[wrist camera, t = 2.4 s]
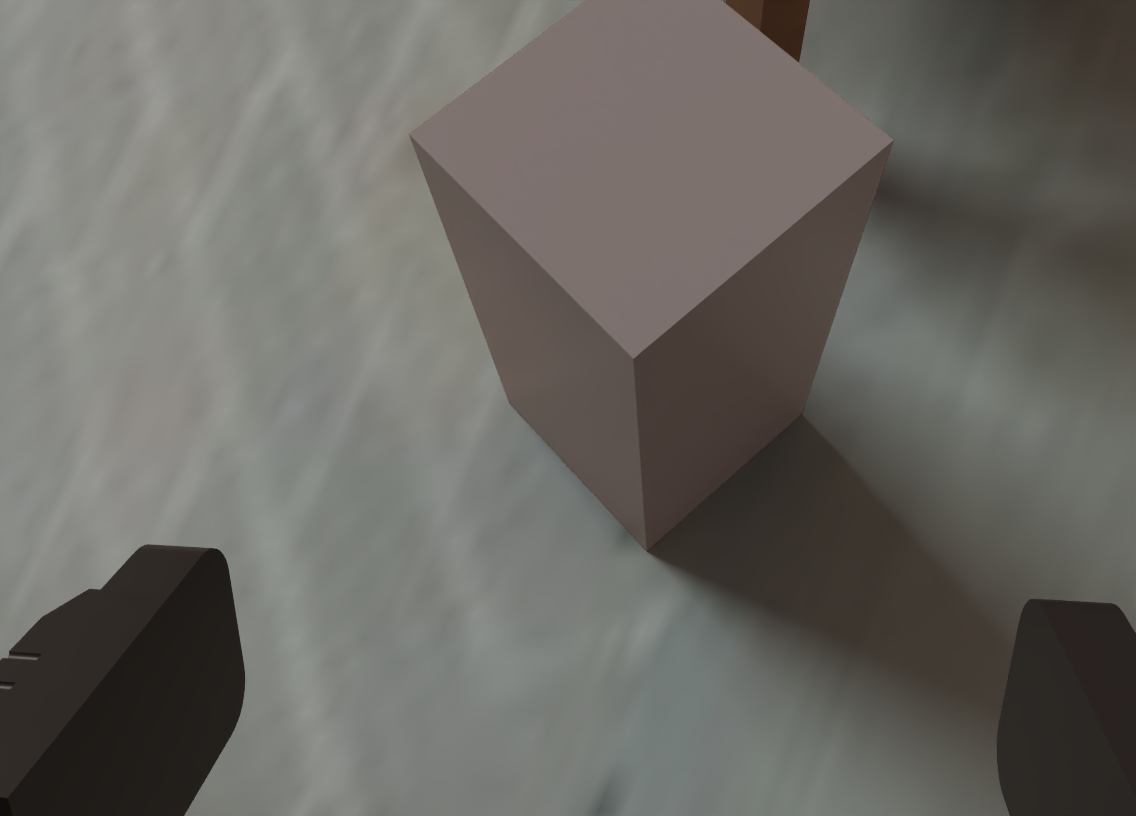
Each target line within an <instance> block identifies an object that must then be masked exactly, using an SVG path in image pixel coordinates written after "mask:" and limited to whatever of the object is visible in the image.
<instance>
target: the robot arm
mask: <svg viewBox="0 0 1136 816" xmlns="http://www.w3.org/2000/svg"><path fill="white" fill-rule="evenodd" d="M244 691H245V670H244V662H243V656H242V650H241V643H240V637H239V631H238V624H237V618H236V612H235V606H234V599H233V593H232V587H231V580H230V574H229V569H228V564H227V561H226V559H225V557H224V555H223V554H222V552H221V551H220V550H218V549H214V548H199V547H182V546H165V545H149V544H148V545H144V546H142V547H140V548H139V549H138V550H137V551H136V552H135V553H134V554H133V555H132V556H131V557H130V558H129V559H128V560H127V561H126V562H125V564H124V565H123V566H122V567H121V568H120V569H119V570H118V571H117V572H116V573H115V574H114V576H113V577H112V578H111V579H110V580H109V581H108V582H107V583H106V584H105V585H104V587H103V588H102V589H101V590H97V589H88V590H87V591H85V592H83V593H82V594H80V595H78V596H77V597H75V598H73V599H72V600H70V601H68V602H67V603H65V604H63V605H62V606H60V607H58V608H57V609H55V610H53V611H51V612H50V613H48V614H46V615H45V616H43V617H42V618H41V619H40V620H39V621H38V622H37V623H36V624H35V625H34V626H33V627H32V628H31V629H30V630H29V631H28V632H27V633H26V634H25V635H24V636H23V637H22V639H21V640H20V641H19V642H18V643H17V644H16V645H15V646H14V647H13V648H12V649H11V650H10V651H9V657H8V659H7V658H2V659H1V660H0V816H184V815H185V813H186V812H187V810H188V808H189V806H190V805H191V803H192V801H193V800H194V798H195V796H196V794H197V793H198V791H199V789H200V788H201V786H202V784H203V783H204V781H205V779H206V777H207V776H208V774H209V772H210V771H211V769H212V767H213V765H214V764H215V762H216V760H217V759H218V757H219V755H220V754H221V752H222V750H223V748H224V747H225V745H226V743H227V742H228V740H229V738H230V737H231V735H232V733H233V731H234V729H235V727H236V724H237V722H238V719H239V716H240V713H241V709H242V704H243V699H244ZM997 763H998V773H999V780H1000V785H1001V790H1002V793H1003V797H1004V800H1005V803H1006V806H1007V808H1008V811H1009V814H1010V816H1136V633H1135V632H1134V630H1133V628H1132V627H1131V625H1130V623H1129V622H1128V620H1127V618H1126V617H1125V615H1124V613H1123V612H1122V611H1121V609H1120V608H1119V607H1118V606H1117V605H1115V604H1112V603H1095V602H1078V601H1062V600H1045V599H1030V600H1029V601H1028V602H1027V603H1026V604H1025V606H1024V608H1023V610H1022V613H1021V617H1020V621H1019V626H1018V631H1017V636H1016V641H1015V646H1014V651H1013V656H1012V661H1011V666H1010V671H1009V676H1008V681H1007V686H1006V691H1005V696H1004V701H1003V706H1002V711H1001V716H1000V721H999V727H998V736H997Z"/></svg>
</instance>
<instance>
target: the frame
mask: <svg viewBox="0 0 1136 816" xmlns="http://www.w3.org/2000/svg"><path fill="white" fill-rule="evenodd" d="M809 2H810V0H726V4H727V5H728V6H729V7H731V8H732V9H733V10H734V11H736V12H737V13H738V14H739V15H741V16H742V17H743V18H744V19H745V20H747V21H748V22H749V23H750V24H752V25H753V26H754V27H755V28H757V29H758V30H759V31H760V32H761V33H763V34H764V35H765V36H766V37H768V38H769V39H770V40H771V41H773V42H774V43H775V44H776V45H778V46H779V47H780V48H781V49H782V50H784V51H785V52H786V53H787V54H789V55H790V56H791V57H792V58H794V59H795V60H796V61H797V62H799V59H800V54H801V48H802V42H803V36H804V31H805V25H806V19H807V14H808V8H809Z"/></svg>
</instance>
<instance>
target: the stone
mask: <svg viewBox="0 0 1136 816" xmlns="http://www.w3.org/2000/svg"><path fill="white" fill-rule="evenodd" d="M409 135H410V138H411V141H412V143H413V146H414V149H415V152H416V154H417V157H418V160H419V162H420V165H421V168H422V170H423V173H424V176H425V178H426V181H427V184H428V186H429V189H430V192H431V194H432V197H433V200H434V203H435V205H436V208H437V211H438V213H439V216H440V219H441V221H442V224H443V227H444V229H445V232H446V235H447V237H448V240H449V243H450V245H451V248H452V251H453V254H454V256H455V259H456V262H457V264H458V267H459V270H460V272H461V275H462V278H463V280H464V283H465V286H466V288H467V291H468V294H469V296H470V299H471V302H472V305H473V307H474V310H475V313H476V315H477V318H478V321H479V323H480V326H481V329H482V331H483V334H484V337H485V339H486V342H487V345H488V347H489V350H490V353H491V355H492V358H493V361H494V364H495V366H496V369H497V372H498V374H499V377H500V380H501V382H502V385H503V388H504V390H505V393H506V396H507V398H508V401H509V403H510V404H511V405H512V406H513V408H514V409H515V410H516V411H517V412H518V413H519V414H520V415H521V416H522V417H523V418H524V419H525V421H526V422H527V423H528V424H529V425H530V426H531V427H532V428H533V429H534V430H535V431H536V432H537V434H538V435H539V436H540V437H541V438H542V439H543V440H544V441H545V442H546V443H547V444H548V445H549V447H550V448H551V449H552V450H553V451H554V452H555V453H556V454H557V455H558V456H559V457H560V458H561V459H562V461H563V462H564V463H565V464H566V465H567V466H568V467H569V468H570V469H571V470H572V471H573V472H574V474H575V475H576V476H577V477H578V478H579V479H580V480H581V481H582V482H583V483H584V484H585V485H586V487H587V488H588V489H589V490H590V491H591V492H592V493H593V494H594V495H595V496H596V497H597V498H598V500H599V501H600V502H601V503H602V504H603V505H604V506H605V507H606V508H607V509H608V510H609V511H610V513H611V514H612V515H613V516H614V517H615V518H616V519H617V520H618V521H619V522H620V523H621V524H622V525H623V527H624V528H625V529H626V530H627V531H628V532H629V533H630V534H631V535H632V536H633V537H634V538H635V540H636V541H637V542H638V543H639V544H640V545H641V546H642V547H643V548H644V549H645V550H646V551H648V550H649V549H650V548H651V547H652V546H653V545H654V544H656V543H657V542H658V541H659V540H660V539H661V538H662V537H663V536H665V535H666V534H667V533H668V532H669V531H670V530H671V529H673V528H674V527H675V526H676V525H677V524H678V523H679V522H680V521H682V520H683V519H684V518H685V517H686V516H687V515H688V514H689V513H691V512H692V511H693V510H694V509H695V508H696V507H697V506H698V505H700V504H701V503H702V502H703V501H704V500H705V499H706V498H708V497H709V496H710V495H711V494H712V493H713V492H714V491H715V490H717V489H718V488H719V487H720V486H721V485H722V484H723V483H724V482H726V481H727V480H728V479H729V478H730V477H731V476H732V475H734V474H735V473H736V472H737V471H738V470H739V469H740V468H741V467H743V466H744V465H745V464H746V463H747V462H748V461H749V460H750V459H752V458H753V457H754V456H755V455H756V454H757V453H758V452H760V451H761V450H762V449H763V448H764V447H765V446H766V445H767V444H769V443H770V442H771V441H772V440H773V439H774V438H775V437H776V436H778V435H779V434H780V433H781V432H782V431H783V430H784V429H786V428H787V427H788V426H789V425H790V424H791V423H792V422H793V421H795V420H796V419H797V418H798V417H799V416H800V415H801V414H802V412H803V409H804V406H805V403H806V400H807V397H808V394H809V391H810V388H811V385H812V382H813V379H814V376H815V373H816V370H817V367H818V365H819V362H820V359H821V356H822V353H823V350H824V347H825V344H826V341H827V338H828V335H829V332H830V329H831V326H832V323H833V320H834V317H835V314H836V311H837V308H838V305H839V302H840V299H841V296H842V293H843V290H844V287H845V284H846V281H847V278H848V275H849V272H850V269H851V266H852V263H853V260H854V257H855V254H856V251H857V248H858V245H859V242H860V240H861V237H862V234H863V231H864V228H865V225H866V222H867V219H868V216H869V213H870V210H871V207H872V204H873V201H874V198H875V195H876V192H877V189H878V186H879V183H880V180H881V177H882V174H883V171H884V168H885V165H886V162H887V159H888V156H889V153H890V150H891V147H892V144H893V141H894V139H892V138H891V137H890V136H889V135H887V134H886V133H885V132H884V131H882V130H881V129H880V128H879V127H878V126H876V125H875V124H874V123H873V122H871V121H870V120H869V119H868V118H866V117H865V116H864V115H863V114H861V113H860V112H859V111H858V110H857V109H855V108H854V107H853V106H852V105H850V104H849V103H848V102H847V101H845V100H844V99H843V98H842V97H841V96H839V95H838V94H837V93H836V92H834V91H833V90H832V89H831V88H829V87H828V86H827V85H826V84H824V83H823V82H822V81H821V80H820V79H818V78H817V77H816V76H815V75H813V74H812V73H811V72H810V71H808V70H807V69H806V68H805V67H803V66H802V65H801V64H800V63H799V62H797V61H796V60H795V59H794V58H792V57H791V56H790V55H789V54H787V53H786V52H785V51H784V50H782V49H781V48H780V47H779V46H778V45H776V44H775V43H774V42H773V41H771V40H770V39H769V38H768V37H766V36H765V35H764V34H763V33H761V32H760V31H759V30H758V29H757V28H755V27H754V26H753V25H752V24H750V23H749V22H748V21H747V20H745V19H744V18H743V17H742V16H741V15H739V14H738V13H737V12H736V11H734V10H733V9H732V8H731V7H729V6H728V5H727V4H726V3H724V2H723V1H722V0H586V1H585V2H583V3H582V4H581V5H579V6H578V7H577V8H575V9H574V10H573V11H571V12H570V13H569V14H567V15H566V16H565V17H563V18H562V19H561V20H559V21H558V22H557V23H556V24H554V25H553V26H552V27H550V28H549V29H548V30H546V31H545V32H544V33H542V34H541V35H540V36H538V37H537V38H536V39H534V40H533V41H532V42H530V43H529V44H528V45H526V46H525V47H524V48H522V49H521V50H520V51H518V52H517V53H516V54H514V55H513V56H512V57H510V58H509V59H508V60H506V61H505V62H504V63H502V64H501V65H500V66H498V67H497V68H496V69H495V70H493V71H492V72H491V73H489V74H488V75H487V76H485V77H484V78H483V79H481V80H480V81H479V82H477V83H476V84H475V85H473V86H472V87H471V88H469V89H468V90H467V91H465V92H464V93H463V94H461V95H460V96H459V97H457V98H456V99H455V100H453V101H452V102H451V103H449V104H448V105H447V106H445V107H444V108H443V109H441V110H440V111H439V112H437V113H436V114H435V115H434V116H432V117H431V118H430V119H428V120H427V121H426V122H424V123H423V124H422V125H420V126H419V127H418V128H416V129H415V130H414V131H412V132H411V133H410V134H409Z"/></svg>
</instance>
